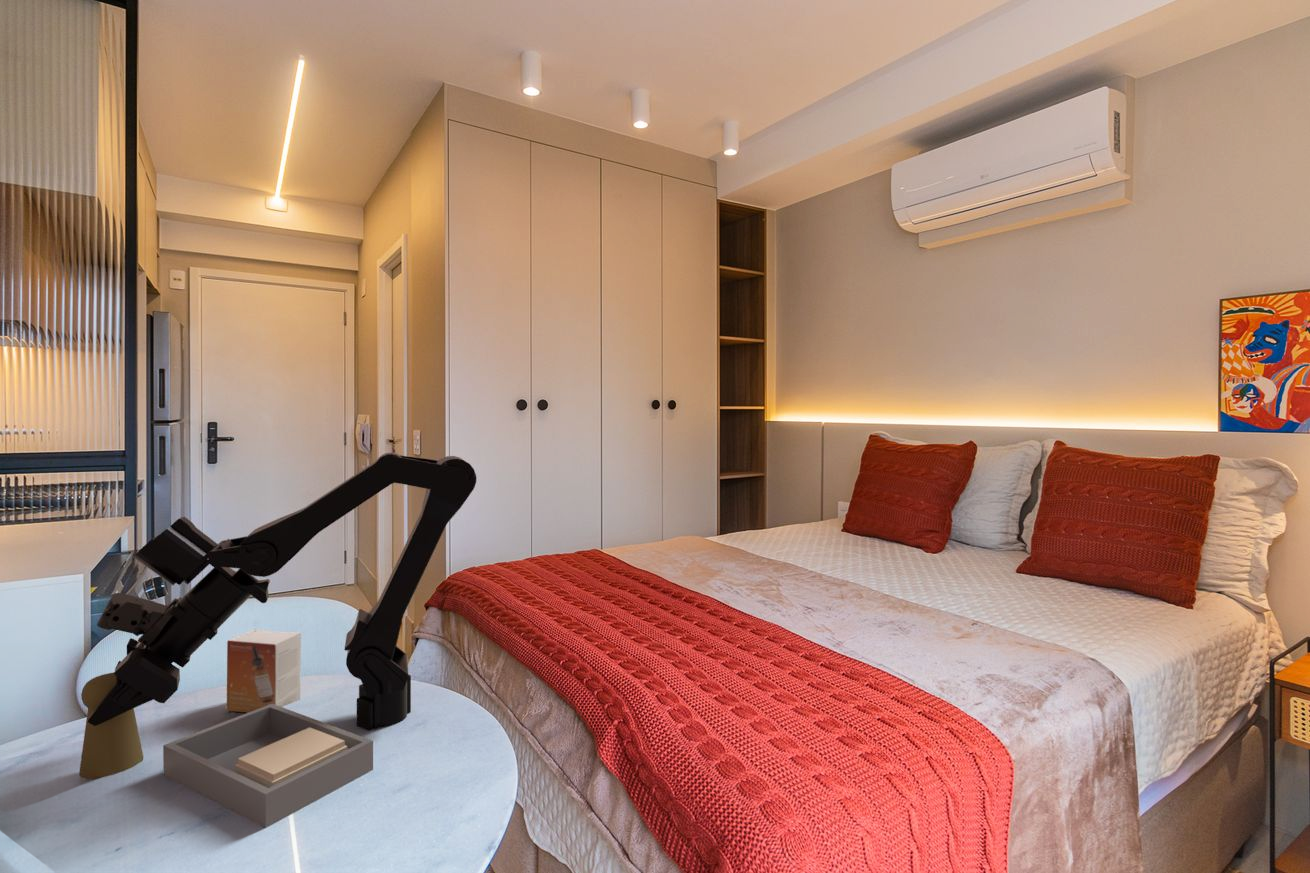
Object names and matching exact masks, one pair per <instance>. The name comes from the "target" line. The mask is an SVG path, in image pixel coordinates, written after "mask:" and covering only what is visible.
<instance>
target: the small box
mask: <svg viewBox="0 0 1310 873" xmlns="http://www.w3.org/2000/svg"><path fill="white" fill-rule="evenodd" d="M226 644H227V647H226V648H227V650H226V651H227V653H226V711H227V712H240V713H249V712H251V711H254V710H257V709H259V708H262V707H265V706H267V705H270V704H275V705H277V706H280V707H283V708H284V707H285V706H288V705H291V704H293V703H296V702H298V701H300V700H301V684H302V683H301V674H302V673H301V671H302V670H301V669H302V667H301V666H302V661H301V660H302V653H301V652H302V649H301V648H302V633H301V632H299V631H298V632H295V631H294V632H291V631H276V630H275V631H274V630H266V629H265V630H263V629H258V628H257V629H256V628H255V629H254V628H253V629H252V630H248V631H247V632H245V633H242V634H239V635H238V636H235V637H233V638H230V639H228V640H227V642H226Z"/></svg>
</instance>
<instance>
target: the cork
mask: <svg viewBox="0 0 1310 873" xmlns="http://www.w3.org/2000/svg"><path fill="white" fill-rule="evenodd" d="M114 672H115V671H114ZM114 672H108V673H103V674H101V675H98V676H96V677H92V678H90V680H88V681H87V682H86V683H85V685H83V688H82V689H81V690H82V691H81V694H80V695H81V699H80V700H82V701H81V702H82V703H83V706H85V707H86V708H87V714H86V721H85V727H84V728H85V729H84V736H83V741H82V742H83V743H82V749H81V755H80V756H81V757H80V765H79V772H78V776H79V777H80V778H81V779H85V780H94V781H95V780H98V779H102V778H104V777H108V776H113V775H116V774H119V773H122V772H125V771H127V770H129V769H132V768H134V767H136V766H137V765H138V764H140V763H142V762H143V760H144V754H143V749H142V742H141V738H140V733H139V728H138V722H137V719H136V713H135V708H133V709H131V710H129V711H126V712H124V713H122V714H120V715H118V716H116V717H114V718H112V719H110V720H108V721H105V722H103V723H101V724H99V725H97V726H93V725H92V724H90V723H88V719H89V718H90V716H91V715H92V714H93V712H94V711H95V710H96V708H97V707H98V706H99V704H100V703H101V702H102V700H103V699H104V698H105V696H106V695H107V694H108V692H109V691H110V690H111V689H112V687H113V686H114V685H115V683H116V682H117V680H116V676H115V674H114Z"/></svg>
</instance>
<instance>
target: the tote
mask: <svg viewBox="0 0 1310 873" xmlns="http://www.w3.org/2000/svg"><path fill="white" fill-rule="evenodd" d="M309 727H310V728H313V729H315V730H318V731H321V732H323V733H326V734H329V735H331V736H334V737H336V738H339V739H342V740H344V741H345V745H346V746H347V750H345V751H343V752H341V753H339V754H337V755H335V756H333V757H331V758H329V759H327V760H325V761H323V762H321V763H319V764H317V765H315V766H313V767H311V768H309V769H307V770H305V771H303V772H301V773H299V774H297V775H295V776H293V777H291V778H289V779H287V780H285V781H283V782H280V783H278V784H276V785H274V786H272V787H270V788H267V787H265V786H263V785H261V784H259V783H256V782H254V781H252V780H250V779H248V778H246V777H244V776H242V775H239V774H237V773H235V765H236V764H238V758H240V757H243V756H245V755H247V754H249V753H252V752H254V751H256V750H259V749H261V748H263V747H266V746H268V745H270V744H272V743H275V742H277V741H279V740H282V739H284V738H286V737H289V736H291V735H293V734H295V733H298V732H300V731H302V730H305V729H307V728H309ZM162 747H163V748H162V754H163V755H162V756H163V758H162V760H163V776H165V777H167V778H168V779H171V780H172V781H175V782H176V783H178V784H180V785H182V786H184V787H186V788H187V789H190V790H191V791H193V792H196V793H197V794H199V795H202V796H203V797H205V798H207V799H209V800H211V801H213V802H214V803H216V804H219V805H220V806H222V807H225V808H226V809H229V810H230V811H232V812H234V813H236V814H238V815H240V816H241V817H243V818H246V819H247V820H249V821H252V822H253V823H255V824H257V825H259V826H261V827H263V828H265V829H267V828H269V827H270V826H273V825H274V824H276V823H278V822H280V821H281V820H284V819H285V818H287V817H289V816H290V815H293V814H294V813H296V812H298V811H300V810H302V809H304V808H307V806H309V805H311V804H313V803H314V802H316V801H318V800H320V799H323V798H324V797H327V795H329V794H331V793H333V792H335V791H337V790H339V789H340V788H343V787H344V786H346V785H349V783H351V782H355V781H356V780H357V779H359V778H361V777H363V776H364V775H366V774H368V773H370V772H371V771H373V770H374V740H372V739H370V738H366V737H365V736H361V735H359V734H356V733H354V732H350V731H347V730H345V729H342V728H340V727H337V726H333V725H331V724H330V723H329V724H328V723H326V722H323V721H320V720H319V719H318V720H317V719H315V718H313V717H310V716H307V715H304V714H302V713H298V712H296V711H293V710H290V709H289V708H288V709H287V708H285V707H284V706H283V707H280V706H277V705H275V704H270V705H267V706H265V707H262V708H259V709H257V710H254V711H251V712H249V713H247V712H245V713H244V714H240V715H239V716H236V717H234V718H230V719H228V720H225V721H224V722H220V723H217V724H214V725H213V726H209V727H207V728H204V729H203V730H199V731H197V732H194V733H192V734H189V735H186V736H183V737H181V738H179V739H175V740H173V741H171V742H168V743H166V744H163V745H162Z"/></svg>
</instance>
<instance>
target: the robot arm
mask: <svg viewBox="0 0 1310 873" xmlns="http://www.w3.org/2000/svg"><path fill="white" fill-rule="evenodd" d="M392 484H399V485H400V484H401V485H405V486H410V487H416V488H421V489H425V492H424V493H425V494H424V498H423V501H422V505H421V506H422V507H421V511H420V514H419V516H418V517H417V520H416V521H415V524H414V526H413V528H412V530H411V532H410V535H409V536H408V538H407V540H406V543H405V544H404V547H403V549H402V550H401V553H400V555H399V558H398V559H397V561H396V563H395V565H394V567H393V570H392V572H391V574H390V576H389V578H388V580H387V582H386V584H385V586H384V588H383V590H382V593H381V595H380V597H379V599H378V600H377V602H376V604H375V605H374V606H373V607H372V608H371V609H370V611H369V612H367V611H365V610H363V609H361V608H359V610H358V612H357V616H356V619H355V623H354V625H353V626H352V628H351V629H350V630H349V631H348V632H347V633H346V636H345V637H346V638H345V644H344V651H346V653H347V654H346V658H345V659H346V661H345V665H346V667H347V670H348V672H349V673H350V674H351V675H352V676H353V677H354V678H356V679H358V680H360V681H361V684H359V685H358V697H357V698H356V727H357V728H360V729H363V730H366V731H368V732H369V731H372V730H377V729H379V728H386V727H390V726H394V725H397V724H399V723H401V722H403V721H404V720H405V719H406V718H407V717H408V714H411V710H412V707H411V706H412V705H411V702H412V699H411V697H412V694H411V693H412V676H411V674H409V668H408V667H409V666H408V665H409V664H408V656H407V653H406V652H405V651H403V650H402V649H401V648H400V647H398V640H399V636H400V632H401V631H400V630H401V626H402V623H403V617H404V616H405V613H406V612H407V611H406V610H407V609H408V606H409V604H410V602H411V600H412V598H413V596H414V594H415V592H416V589H417V587H418V585H419V583H420V581H421V579H422V577H423V575H424V574H425V573H424V572H426V568H427V566H428V564H429V562H430V561H431V558H432V556H433V553H434V552H435V549H436V547H437V546H438V543H439V542H440V539H441V537H442V536H443V532H444V531H445V529H446V526H447V525H448V523H449V522H450V520H452V518H454V516H455V515H456V514H457V513H458V511H459V510H460V509H461V508H462V507H463V505H464V504H465V502H466V501H467V500H468V498H469V497H470V495H471V494H472V492H473V491H474V490H475V486H476V485H477V474H476V471H475V469H474V467H473V466H472V465H471V463H469V462H467V461H466V460H465V459H463V458H461V457H459V456H455V455H449V456H448V455H447V456H443V457H442V458H439V459H438V460H437V459H430V458H423V457H416V456H415V457H414V456H408V455H407V456H406V455H401V454H398V453H396V452H385V453H383V454H381V455H380V456H378V458H377V459H376V460H375V461H374V462H372V463H370V464H369V465H367V466H366V467H364V468H363V469H362V470H360V471H358V472H357V473H355V474H354V475H352V476H350V477H349V478H348V479H346V480H345V481H343V482H342V483H340V484H338V485H337V486H335V487H334V488H333V489H331V490H329V491H328V492H327V493H325V494H323V495H322V496H320V497H318V498H317V499H316V500H314V501H313V502H311V503H309V504H308V505H306V506H305V507H303V508H300V509H299V510H297V511H294V512H292V513H289V514H286V515H284V516H281V517H279V518H277V519H275V520H272V521H270V522H268V523H266V524H264V525H261V526H259V527H257V528H254V529H253V531H251V532H250V533H249V534H248V535H246V536H241V537H236V538H231V539H229V538H227V539H223V540H221V541H220V542H218V543H217V542H216V541H214V540H213V539H212V538H210V537H209V536H208V535H206V534H205V533H204V532H203V531H201V530H200V529H198V528H197V527H196V525H195V524H194V523H193V522H192V521H191V520H190V519H188V517H186V516H181V517H180V518H177V519H176V520H175V521H174V522H173V523H172V524H170V525H169V526H168V527H167V528H165V529H164V530H163V531H162V532H161V533H159V534H158V535H156V536H155V537H153V538H151V539H150V540H149V541H148V542H147V543H146V544H144V545H143V546H142V547H141V549H139V550H138V551H137V552H136V554H134V556H133V559H134V560H136V561H137V562H139V563H141V564H142V565H143V566H145V567H146V568H148V569H149V570H150V571H152V572H153V573H155V574H156V575H157V576H159V577H160V578H161V579H163V580H164V581H165V582H167V583H169V584H170V585H171V586H175V585H176V584H177V585H178V586H180V585H181V584H182V583H184V584H186V585H187V586H188V585H189V584H190V583H191V582H192V581H193V580H194V579H195V578H197V576H199V575H200V574H201V573H202V572H203V571H204V570H205V569H206V568H207V567H208V566H209V565H210V566H211V567H213V568H212V569H211V570H210V571H209V572H208V573H207V574H206V575H205V576H204V577H203V578H201V579H200V580H199V581H198V582H197V583H196V584H195V585H194V586H192V587H191V589H190V590H188V591H187V593H185V594H184V595H183V596H182V597H180V596H179V598H176V597H175V598H174V599H172V601H171V602H169V604H167V605H165V604H164V603H163V604H162V603H159V602H156V601H153V600H150V599H146V598H143V597H138V596H133V595H131V594H126V593H123V592H122V593H120V592H115V593H113V595H112V596H111V597H110V598H109V601H108V602H107V604H106V606H105V608H104V610H103V611H102V613H101V616H100V617H99V619H98V621H97V623H96V626H97V627H98V628H101V629H102V630H108V631H109V630H110V631H111V630H115V631H120V632H125V633H129V634H133V635H135V636H136V637H138V636H139V638H138V639H137V640H136V639H134V638H131V637H130V638H129V639H128V642H127V644H126V656H125V657H124V658H123V659H122V660H118V662H117V663H116V666H115V667H114V674H115V676H116V680H117V682H116V683H115V685H114V686H113V687H112V689H111V690H110V691H109V692H108V694H107V695H106V696H105V698H104V699H103V700H102V702H101V703H100V704H99V706H98V707H97V708H96V710H95V711H94V712H93V714H92V715H91V716H90V718H89V719H88V723H90V724H92V725H93V726H97V725H99V724H101V723H103V722H105V721H108V720H110V719H112V718H114V717H116V716H118V715H120V714H122V713H124V712H126V711H129V710H131V709H133V708H134V709H135V708H137V707H140V706H142V705H144V704H147V703H149V702H151V701H153V700H154V701H155V702H158V703H159V704H165V703H166V702H167V701H169V699H170V698H171V697H172V696H173V695H174V694H175V693H176V692H177V691H178V690H179V685H180V681H181V676H180V675H181V674H180V672H181V671H180V668H179V667H181V668H184V667H185V666H186V665H187V664H188V663H189V662H190V661H191V656H192V655H193V654H194V652H196V651H197V650H198V649H199V648H200V647H201V646H202V645H203V644H204V643H205V642H206V641H207V640H209V641H212V640H213V638H214V637H215V636H216V635H217V634H218V629H220V627H221V626H222V625H223V624H224V623H225V622H227V620H228V619H230V617H231V616H232V615H233V614H234V613H236V611H237V610H238V609H239V608H240V607H241V606H242V605H243V604H244V603H245V602H246V601H247V600H248V599H250V598H251V597H253V598H254V599H256V600H257V601H258V602H260V603H261V604H266V603H267V602H268V599H269V597H270V595H269V585H270V582H271V581H270V579H269V578H267V579H258V578H256V577H260V578H261V577H263V578H265V577H270V576H272V575H274V574H276V573H277V572H279V571H280V570H282V568H283V567H285V565H286V564H287V563H289V561H291V560H292V559H293V558H294V557H295V556H296V555H297V554H298V553H299V552H301V551H302V550H303V548H305V546H306V545H307V544H308V543H309V542H311V541H312V539H313V538H314V537H315V536H316V535H318V534H319V533H320V532H322V531H323V530H325V529H326V528H328V527H329V526H331V525H333V524H334V523H335V522H336V521H339V519H341V518H342V517H344V516H346V515H347V514H349V513H350V512H352V511H353V510H355V509H356V508H358V507H359V506H361V505H362V504H364V503H366V501H368V500H369V499H371V498H372V497H374V496H376V495H377V494H379V493H380V492H381V491H383V490H385V489H386V488H387V487H389V486H391V485H392ZM234 569H237V570H236V571H235V570H234ZM140 635H141V636H140ZM173 663H174V664H176V665H178V666H179V667H177V666H176V665H174V664H173Z"/></svg>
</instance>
